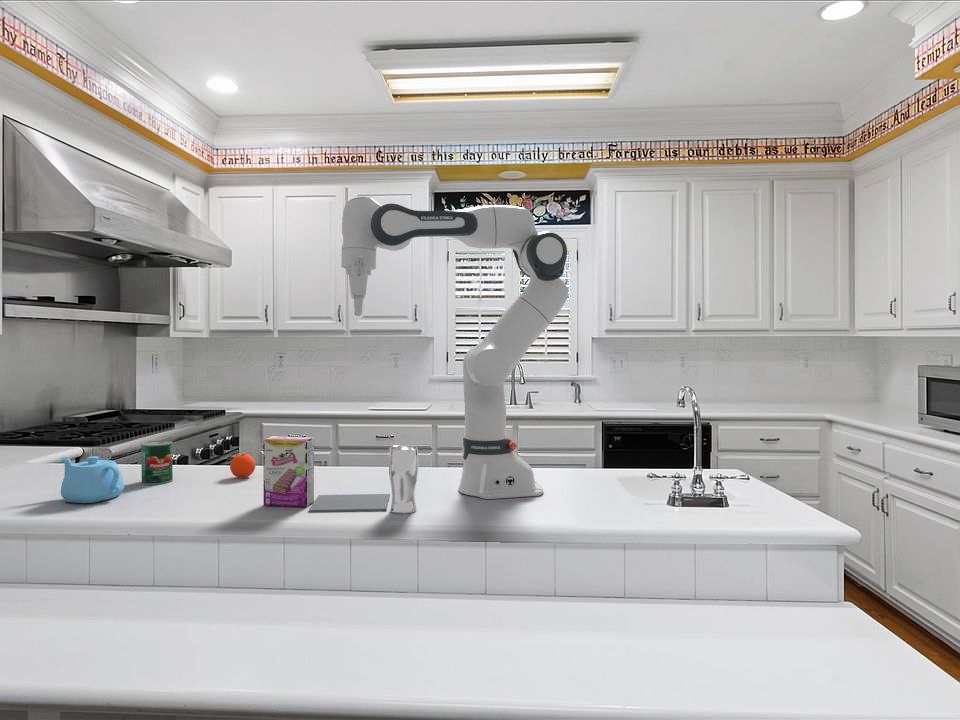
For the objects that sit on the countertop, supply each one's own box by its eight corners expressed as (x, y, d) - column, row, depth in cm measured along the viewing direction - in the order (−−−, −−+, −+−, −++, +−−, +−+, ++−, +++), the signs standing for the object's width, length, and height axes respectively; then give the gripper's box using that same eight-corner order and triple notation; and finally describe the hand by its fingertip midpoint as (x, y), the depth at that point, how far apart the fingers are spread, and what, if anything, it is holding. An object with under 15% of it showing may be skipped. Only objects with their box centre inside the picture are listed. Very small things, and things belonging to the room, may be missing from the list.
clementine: (223, 477, 184) (223, 452, 184) (245, 473, 189) (245, 449, 189) (237, 481, 179) (237, 456, 178) (260, 477, 184) (260, 453, 184)
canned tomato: (155, 486, 173) (155, 445, 173) (134, 483, 176) (134, 443, 175) (179, 479, 180) (178, 441, 180) (158, 477, 183) (158, 439, 183)
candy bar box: (262, 506, 153) (262, 438, 152) (271, 501, 158) (270, 435, 157) (307, 508, 152) (307, 439, 151) (314, 502, 157) (314, 436, 156)
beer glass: (391, 506, 154) (391, 444, 153) (419, 506, 153) (420, 445, 153) (386, 514, 147) (386, 450, 146) (416, 514, 146) (416, 450, 146)
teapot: (81, 450, 167) (138, 453, 163) (82, 490, 168) (138, 495, 163) (37, 459, 155) (96, 463, 151) (38, 502, 156) (97, 507, 151)
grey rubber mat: (389, 495, 164) (389, 493, 164) (386, 510, 150) (386, 508, 150) (318, 496, 162) (319, 494, 162) (308, 512, 148) (308, 509, 148)
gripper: (372, 257, 154) (371, 314, 155) (370, 266, 174) (369, 316, 175) (345, 256, 153) (345, 313, 153) (346, 265, 173) (346, 315, 173)
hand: (358, 315), depth 164 cm, fingers open, 8 cm apart
